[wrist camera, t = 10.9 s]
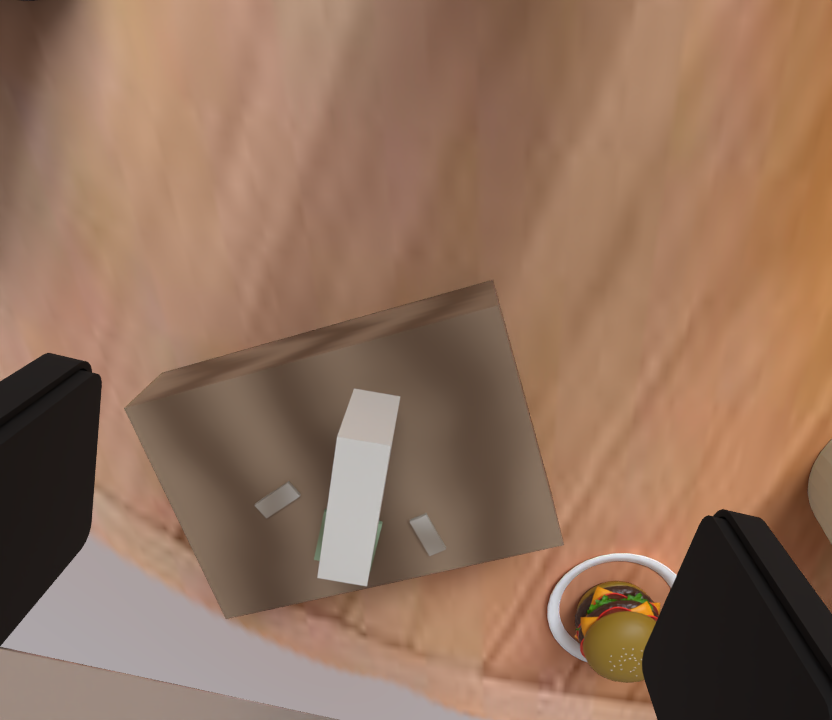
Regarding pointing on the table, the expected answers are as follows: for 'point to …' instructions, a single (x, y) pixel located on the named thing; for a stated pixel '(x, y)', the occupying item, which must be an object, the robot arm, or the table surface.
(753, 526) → the robot arm
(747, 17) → the table surface
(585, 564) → the hamburger
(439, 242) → the table surface
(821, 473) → the reusable coffee cup
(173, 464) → the brown slab
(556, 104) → the table surface
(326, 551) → the peg
